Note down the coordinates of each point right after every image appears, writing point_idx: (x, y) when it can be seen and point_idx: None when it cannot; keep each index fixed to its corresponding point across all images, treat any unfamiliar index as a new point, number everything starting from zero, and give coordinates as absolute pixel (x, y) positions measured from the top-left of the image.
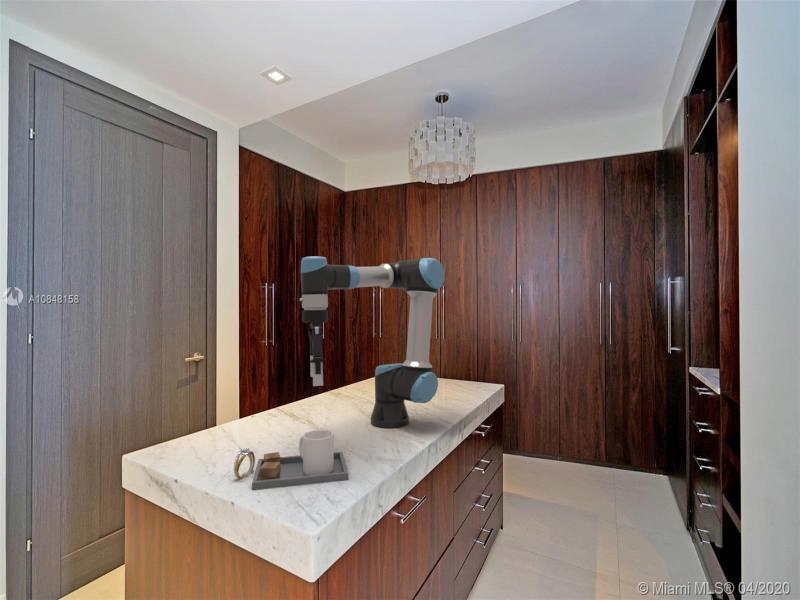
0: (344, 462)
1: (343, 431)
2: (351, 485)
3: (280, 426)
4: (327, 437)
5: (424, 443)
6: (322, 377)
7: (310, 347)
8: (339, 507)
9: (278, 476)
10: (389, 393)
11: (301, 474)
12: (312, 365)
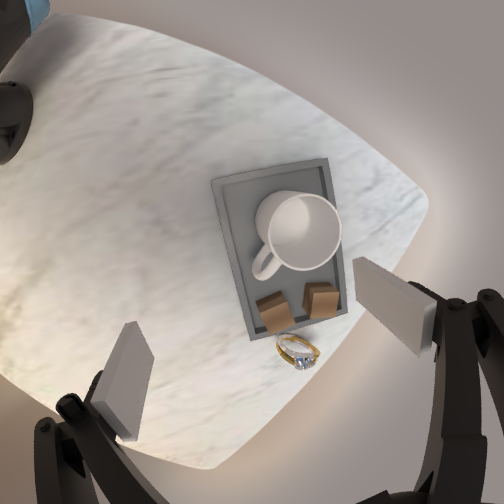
0: (275, 168)
1: (43, 213)
2: (330, 153)
3: (45, 347)
4: (331, 205)
5: (128, 29)
6: (383, 270)
7: (91, 479)
8: (391, 171)
9: (315, 284)
10: None
11: None
12: (139, 389)
